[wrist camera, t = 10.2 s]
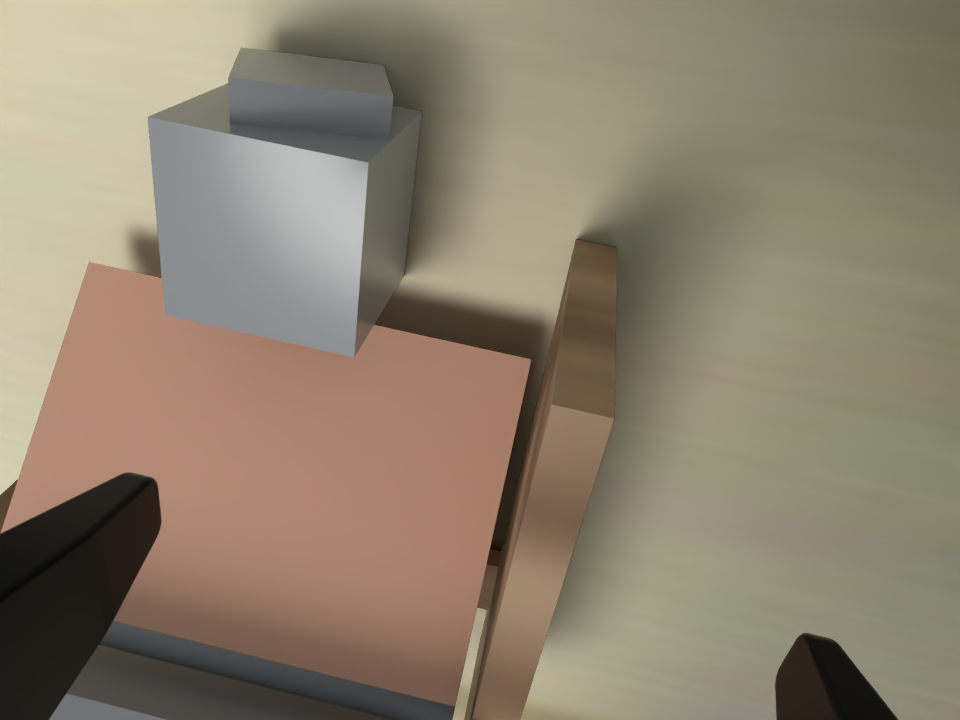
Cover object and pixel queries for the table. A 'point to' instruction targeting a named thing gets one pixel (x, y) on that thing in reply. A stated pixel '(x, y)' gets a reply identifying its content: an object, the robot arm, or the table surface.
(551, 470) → the frame
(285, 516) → the trapdoor
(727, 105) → the table surface
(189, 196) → the slate block
